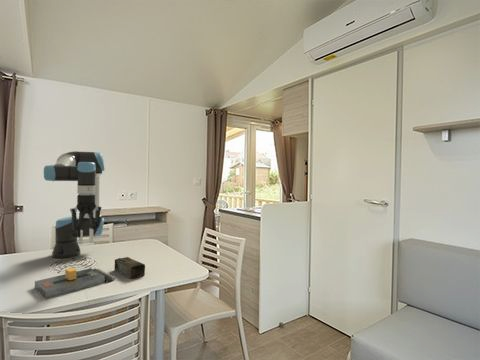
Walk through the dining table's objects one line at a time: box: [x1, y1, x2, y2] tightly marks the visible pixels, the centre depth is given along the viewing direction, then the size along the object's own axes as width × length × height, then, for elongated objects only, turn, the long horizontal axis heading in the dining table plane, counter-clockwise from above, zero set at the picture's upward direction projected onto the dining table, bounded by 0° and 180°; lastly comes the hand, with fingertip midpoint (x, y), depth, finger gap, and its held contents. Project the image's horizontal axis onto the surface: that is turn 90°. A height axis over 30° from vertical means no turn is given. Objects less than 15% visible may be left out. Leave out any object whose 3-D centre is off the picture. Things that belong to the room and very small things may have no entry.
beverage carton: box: [114, 256, 146, 280], centre depth 148 cm, size 8×19×7 cm, turn 48°
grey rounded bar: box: [92, 268, 116, 282], centre depth 141 cm, size 17×4×2 cm, turn 50°
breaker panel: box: [34, 268, 106, 300], centre depth 130 cm, size 16×24×3 cm, turn 140°
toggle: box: [64, 267, 77, 280], centre depth 130 cm, size 5×3×4 cm, turn 50°
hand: (86, 242), depth 135 cm, fingers open, 4 cm apart
